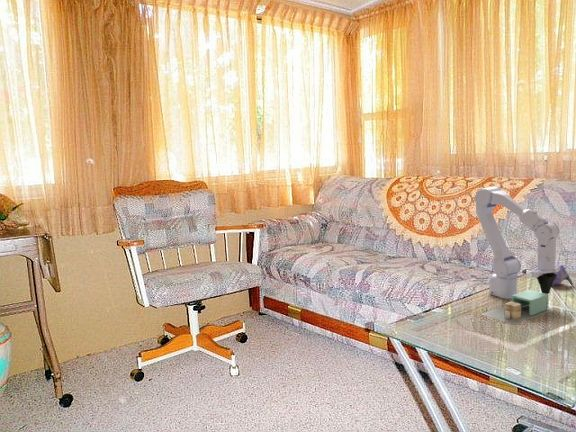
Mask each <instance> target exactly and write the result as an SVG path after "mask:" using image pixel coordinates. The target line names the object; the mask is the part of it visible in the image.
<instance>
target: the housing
mask: <svg viewBox="0 0 576 432" xmlns="http://www.w3.org/2000/svg"><path fill="white" fill-rule="evenodd" d="M511 301H512V302H515V303H519V304H521V307H524V306H526V305H529V315H530V316H531V315H534V314H536V313H539V312H542V311H544V310H549V309H548V307H549V306H548V305H549V302H548V301H549V294H545V293H542V292H541V291H535V290H532V289H526V290H523V291H520V292H517V294H514V295H512V299H511Z"/></svg>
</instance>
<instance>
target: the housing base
mask: <svg viewBox="0 0 576 432" xmlns="http://www.w3.org/2000/svg"><path fill="white" fill-rule="evenodd" d="M504 311H505V316H504ZM551 312H552V310H551V309H547V310H544V311H542V312H539V313H536V314H534V315H531V316H530V315H529V305H526V306H524V307H521V317H519V318H516V319H511V318H510V311H509V310H505V305H503V306H500V307H497V308H494V309H492V310H489V311H486V312H483V313H481V314H480V315H481V316H484V317H488V318H491V319H494V320H497V321H500V322H503V323H506V324H510V325H512V326H517V325H520V324H522V323H525V322H527V321H530V320H533V319H535V318H538V317H541V316H543V315H546V314H548V313H551Z"/></svg>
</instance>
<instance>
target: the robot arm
mask: <svg viewBox="0 0 576 432" xmlns="http://www.w3.org/2000/svg"><path fill="white" fill-rule="evenodd" d="M473 199H474V202H475V213H476V216H477V218H478V221H479V223H480V225H481V228H482V230H483V232H484V235H485V238H486V239H487V242H488V244H489V247H490V249H491V251H492V253H493V256H492V259H491V263H492V266H493V267H492V268H493V269H492V270H493V274H492V275H491V276H490V278H489V291H488V294H489V295H493V296H497V297H498V298H501V299H508V300H509V299H511V300H512V295H514V294H517V293H518V273H519V272H520V271H521V269H522V264H521V261H520V260H519V259H518V258H517V257H516V255H515V254H514V253H513V252H512V251H511V250H510V249H508V248H509V247H508V246H507V244H506V241H505V240H504V237H503V235H502V233H501V231H500V228H499V226H498V224H497V221H496V219H495V216H494V215H493V212H494V210H495V208H496V206H497V205H498V206H502V207H504V208H506V209H507V210H509V211H510V212H511V213H513V214H515V215H516V216H518V217H519V218H518V219H519V221H520V223H522V224H523V225H524V226H525V227H527V228H528V229H530V230H531V231H533V233H534V235H535V238H537V257H536V259H537V262H536V263H537V264H536V267H535V269H534V270H532V271H531V277H532V278H536V280H537V282H538V284H539V288H540V293H544V294H548V295H549V294H550V292H551V289H552V287H553V286H552V283H553V281H554V280H555V278H556V277H557V274H554V273H556V272H558V271H560V266H561V265H559V264H556V257H557V255H556V254H557V237H558V236H559V234H560V227H559V225H558V224H556V222H554V221H548V219H547V218H544V217H543V216H541V215H539V214H538V211H537V210H535V209H525V207H524V206H522V205H521V204H519V203H518V202H517V201H516V200H514V198H513V197H511V196H510V195H509V194H508V193H507V191H506V190H504V189H502V188H501V187H499V186H491V187H484V188H483V187H482V188H479V189H478V190H477V191H476V193H475V195H474V197H473ZM553 272H554V273H553Z"/></svg>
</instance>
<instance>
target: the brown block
mask: <svg viewBox="0 0 576 432" xmlns="http://www.w3.org/2000/svg"><path fill="white" fill-rule="evenodd" d="M504 306H505V310H509V311H510V318H511V319H516V318H519V317H521V304H519V303H515V302H512V300H511V301H508V302H506V303H504ZM504 316H505V311H504Z"/></svg>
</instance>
